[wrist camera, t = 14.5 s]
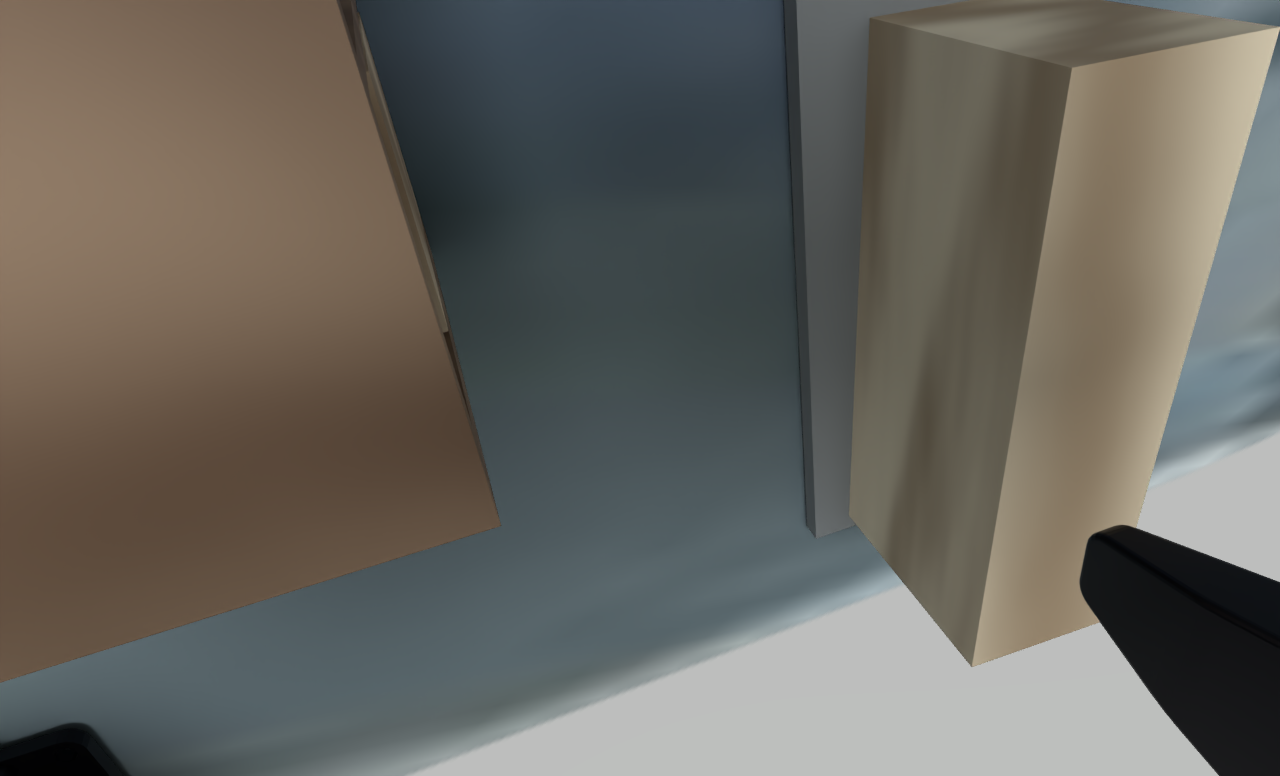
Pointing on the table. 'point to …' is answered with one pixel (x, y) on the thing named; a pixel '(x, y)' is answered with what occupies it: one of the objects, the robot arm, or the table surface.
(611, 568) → the table surface
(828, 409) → the pad
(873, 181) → the block
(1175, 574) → the robot arm
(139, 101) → the brown storage crate
